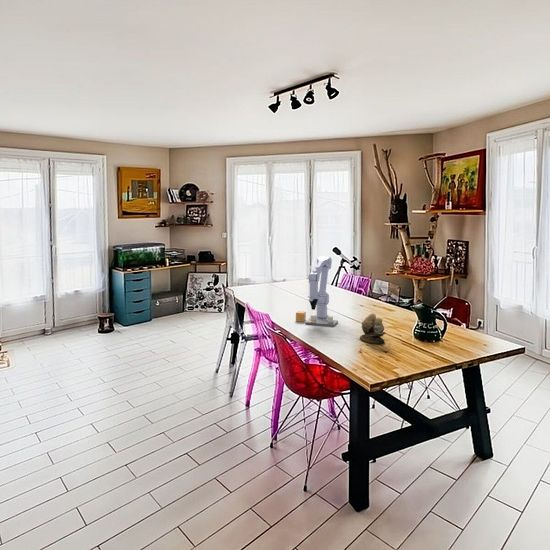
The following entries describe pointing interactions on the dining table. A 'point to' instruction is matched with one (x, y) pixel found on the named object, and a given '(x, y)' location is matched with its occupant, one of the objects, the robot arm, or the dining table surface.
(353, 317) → the dining table surface
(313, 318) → the white rectangular block
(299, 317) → the orange cube
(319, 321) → the panel
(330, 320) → the untagged breaker
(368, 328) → the stacked stone sculpture
